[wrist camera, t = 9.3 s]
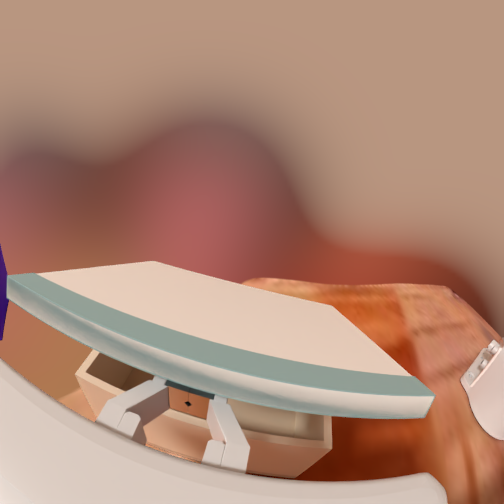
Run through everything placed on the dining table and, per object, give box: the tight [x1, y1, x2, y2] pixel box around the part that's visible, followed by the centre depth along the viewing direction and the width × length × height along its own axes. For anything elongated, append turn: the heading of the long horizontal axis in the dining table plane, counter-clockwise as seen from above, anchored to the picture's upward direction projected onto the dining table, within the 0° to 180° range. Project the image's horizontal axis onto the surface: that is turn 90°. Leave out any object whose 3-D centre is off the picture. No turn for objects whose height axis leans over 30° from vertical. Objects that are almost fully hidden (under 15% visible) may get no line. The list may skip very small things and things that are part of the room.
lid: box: [7, 261, 436, 419], centre depth 18 cm, size 19×19×1 cm
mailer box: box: [75, 349, 332, 478], centre depth 22 cm, size 15×18×8 cm
